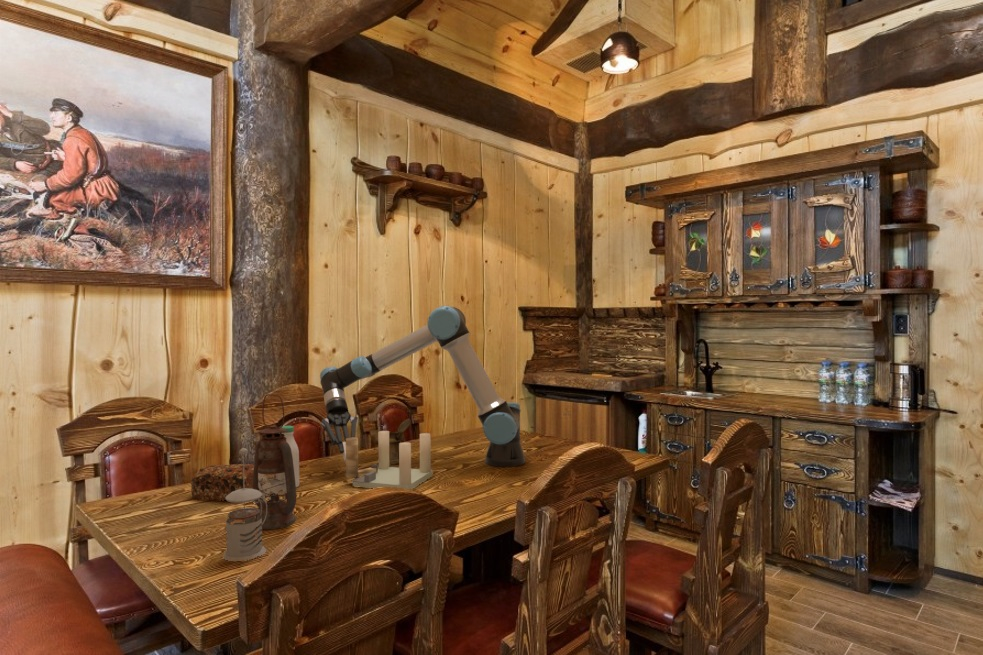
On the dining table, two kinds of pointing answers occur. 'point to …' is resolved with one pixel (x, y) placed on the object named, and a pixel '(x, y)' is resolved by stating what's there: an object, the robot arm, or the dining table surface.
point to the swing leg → (355, 460)
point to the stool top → (404, 473)
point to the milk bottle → (295, 453)
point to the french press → (244, 525)
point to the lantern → (273, 460)
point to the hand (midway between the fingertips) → (347, 460)
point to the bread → (221, 481)
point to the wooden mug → (397, 441)
